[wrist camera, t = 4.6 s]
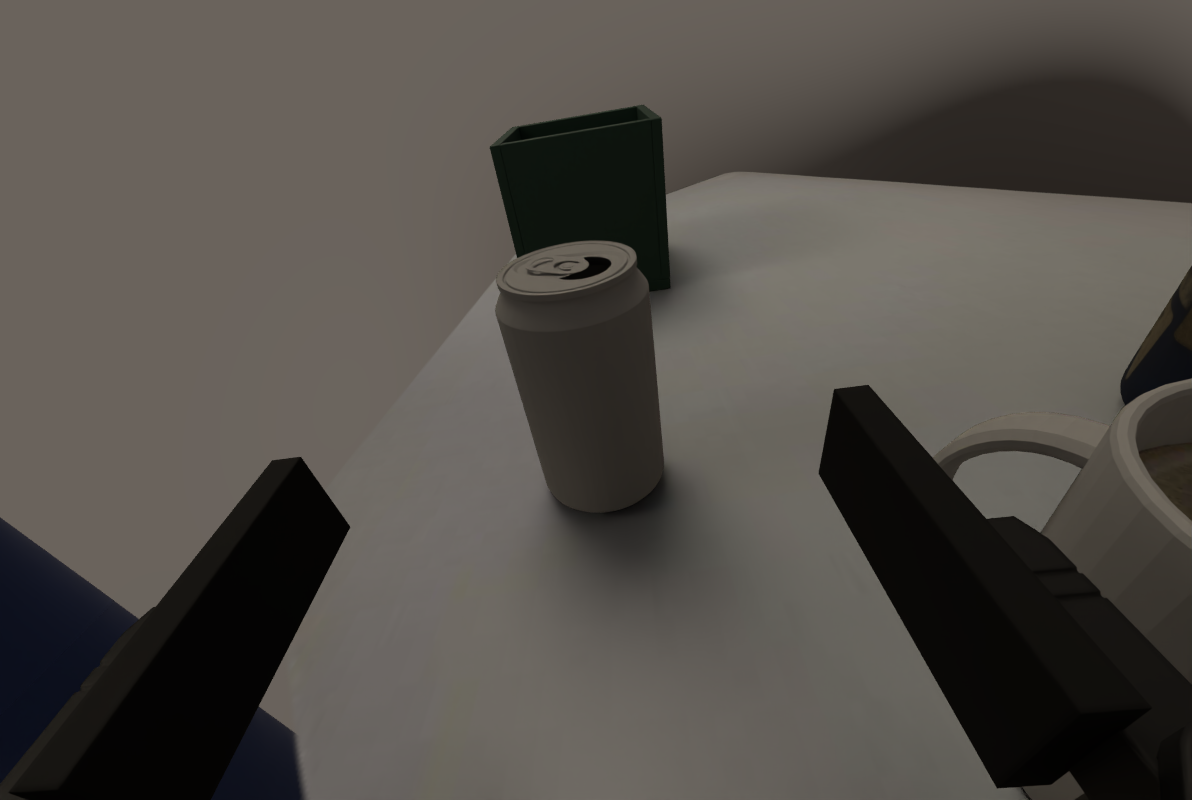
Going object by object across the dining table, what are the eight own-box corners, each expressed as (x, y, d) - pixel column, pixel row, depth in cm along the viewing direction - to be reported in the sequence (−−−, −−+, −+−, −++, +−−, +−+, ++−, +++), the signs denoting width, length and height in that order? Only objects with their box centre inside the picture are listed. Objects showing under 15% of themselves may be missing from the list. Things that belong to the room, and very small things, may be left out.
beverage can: (640, 537, 22) (608, 300, 15) (526, 505, 24) (452, 292, 17) (679, 447, 26) (668, 233, 19) (578, 429, 29) (536, 235, 22)
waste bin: (529, 308, 45) (489, 146, 37) (540, 260, 56) (511, 127, 48) (670, 288, 44) (661, 117, 36) (653, 243, 55) (643, 104, 47)
